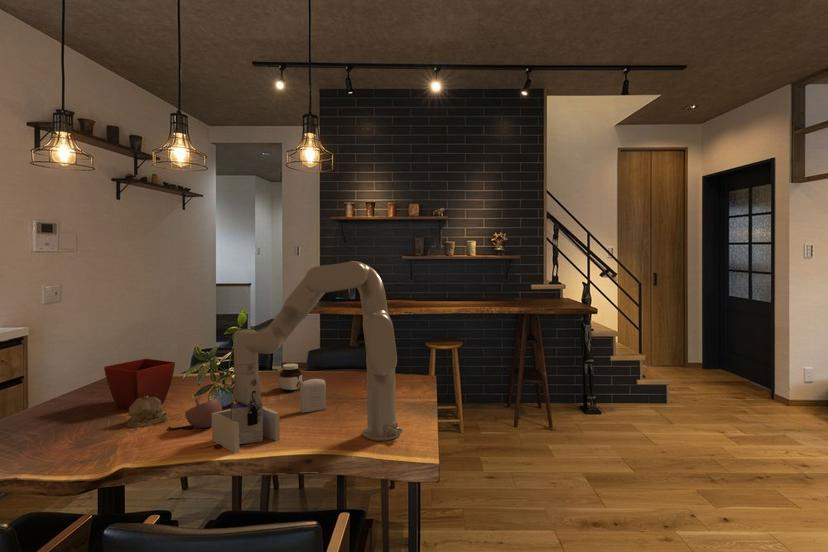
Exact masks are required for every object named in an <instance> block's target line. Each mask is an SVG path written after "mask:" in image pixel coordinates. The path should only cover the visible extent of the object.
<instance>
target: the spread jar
mask: <svg viewBox="0 0 828 552" xmlns="http://www.w3.org/2000/svg"><path fill="white" fill-rule="evenodd" d="M302 382H303V373H302V371H301V370H300V369H299V364H298V363H285V364H283V365H282V369H281V371H280V372H279V376H278V387H279V389H280V390H281V391H282V392H283V391H284V392H283V393H295V392H294V391H296V392H298V391H299V390H300V385H301V383H302ZM297 390H298V391H297Z"/></svg>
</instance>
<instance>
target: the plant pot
mask: <svg viewBox="0 0 828 552" xmlns="http://www.w3.org/2000/svg"><path fill="white" fill-rule="evenodd" d="M175 365H176V362H175V361H167V360H159V359H153V358H151V359H150V358H141V359H136V360H131V361H126V362H121V363H117V364H112V365H111V364H110V365H105V366H104V367H103V371H104V374H105V379H106V382H107V385H108V387H109V391H110V394H111V396H112V398H113V401H114V402H115V405H116V407H119V408H124V409H128V408H129V407H130V406H131V405H132V404H133V403H134V402H135V400H136V399H139V398H144V396H147V395H148V398H149V397H156V398H157V399H159V400H161V402H162V404H163V403H164V402H165V400H166V399H167V395H168V392H169V390H170V387H171V383H172V381H173V377H174V372H175Z"/></svg>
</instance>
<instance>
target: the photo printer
mask: <svg viewBox="0 0 828 552" xmlns="http://www.w3.org/2000/svg"><path fill="white" fill-rule="evenodd" d="M326 384H327V383H326V381H325V380H324V379H322V378H312V379H307V380H304V381H302V383H301V385H300V389H299V390H300V395H299V396H300V398H299V400H300V404H299V405H300V406H299V407H300V409H299V410H300V413H302V414H305V412H306V413H310V412H311V413H312V412H317V411H322V410H326V409H327V405H326V404H327V402H326V401H327V389H326V388H327V385H326Z"/></svg>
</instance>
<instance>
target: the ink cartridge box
mask: <svg viewBox="0 0 828 552" xmlns="http://www.w3.org/2000/svg"><path fill="white" fill-rule="evenodd" d="M250 403H254V402H253V401H252V402H250ZM260 403H261V404H260V406H259V409H258V423H257V424H255V425H251V426H248V415H247V414H248V413H249V412H248V407H247V405H245V404H243V403H241V402H240V403H239V404H236V403H234V404H232V403H231V404H230V409H231V420H233V421H235V422H238V423H239V445H243V444H244V445H245V444H250V443H251V444H252V443H258V442H259V443H260V442H263V441H264V439H263V438H264V435H263V407H264V405H263V403H262V401H261V402H260ZM253 406H254V405H252V406H251V409H252V407H253Z"/></svg>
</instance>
